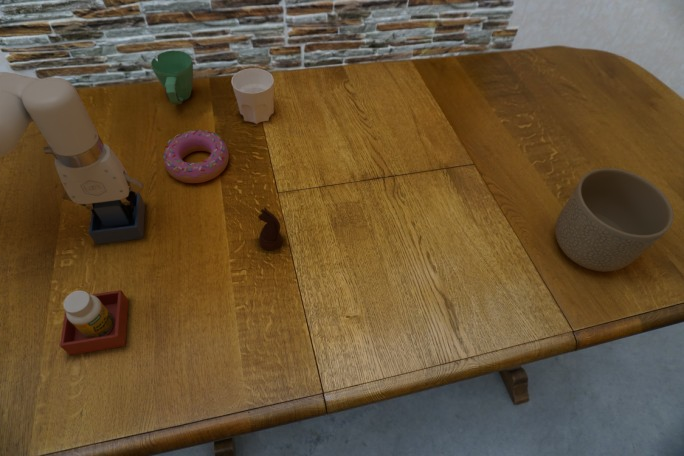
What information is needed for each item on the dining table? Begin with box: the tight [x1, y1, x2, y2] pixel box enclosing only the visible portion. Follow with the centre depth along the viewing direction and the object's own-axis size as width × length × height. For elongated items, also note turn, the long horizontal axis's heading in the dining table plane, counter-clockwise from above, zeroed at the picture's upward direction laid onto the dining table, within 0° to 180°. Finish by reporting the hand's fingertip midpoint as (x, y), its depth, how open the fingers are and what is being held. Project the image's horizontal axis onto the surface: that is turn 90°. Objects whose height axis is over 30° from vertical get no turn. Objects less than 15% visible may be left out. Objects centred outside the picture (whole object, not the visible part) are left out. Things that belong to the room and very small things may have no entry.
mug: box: [150, 49, 194, 105], centre depth 116 cm, size 15×10×10 cm
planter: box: [554, 167, 675, 273], centre depth 91 cm, size 17×17×15 cm
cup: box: [230, 67, 275, 125], centre depth 114 cm, size 10×10×10 cm
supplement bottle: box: [62, 290, 114, 339], centre depth 78 cm, size 5×5×10 cm
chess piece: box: [257, 207, 283, 251], centre depth 91 cm, size 5×5×10 cm
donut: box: [162, 129, 230, 184], centre depth 105 cm, size 14×14×5 cm
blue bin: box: [88, 192, 146, 246], centre depth 94 cm, size 9×9×4 cm
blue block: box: [94, 200, 130, 228], centre depth 91 cm, size 5×5×6 cm
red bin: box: [59, 289, 130, 356], centre depth 80 cm, size 9×9×4 cm
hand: (116, 214), depth 93 cm, fingers closed on blue block, 4 cm apart
